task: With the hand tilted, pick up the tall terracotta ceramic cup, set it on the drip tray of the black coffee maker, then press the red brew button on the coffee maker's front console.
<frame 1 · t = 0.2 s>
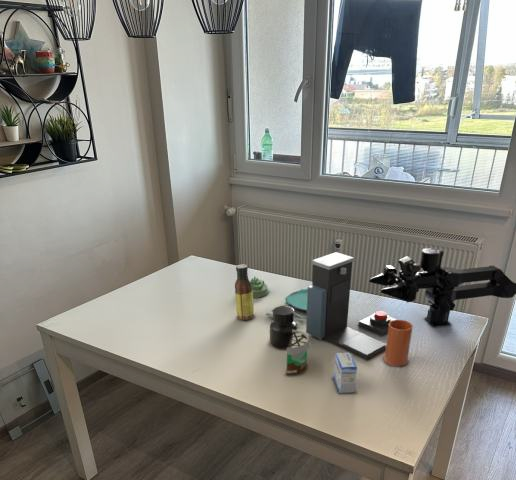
hand: (375, 285, 161), 17 cm above the table, tool horizontal, fingers open, 9 cm apart
ink bottle: (283, 343, 162), on the table
brew button: (380, 315, 169), point 4 cm above the table, slide at 0.2 cm
sauce bottle: (245, 317, 179), on the table
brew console: (379, 325, 171), on the table
coffee maker: (364, 347, 158), on the table
decorative artifact: (255, 293, 199), on the table
food container: (299, 368, 149), on the table
cutlery set: (303, 308, 185), on the table
medicine box: (343, 385, 140), on the table
cup: (395, 360, 151), on the table
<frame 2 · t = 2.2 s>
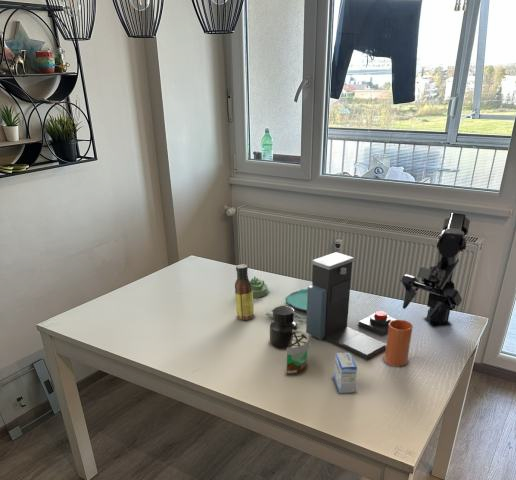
hand: (416, 313, 149), 14 cm above the table, tool tilted 45°, fingers open, 9 cm apart
nothing on the table moved.
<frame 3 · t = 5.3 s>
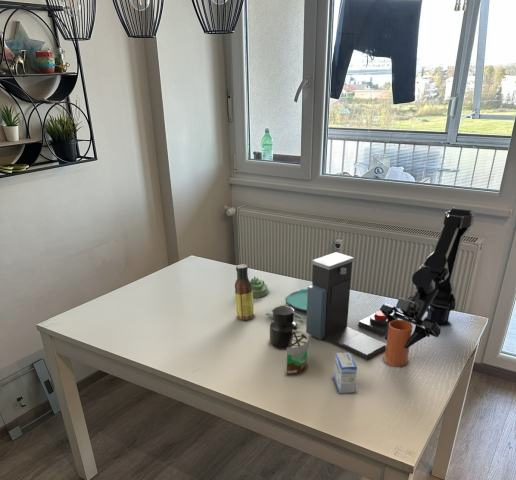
hand: (395, 343, 147), 7 cm above the table, tool tilted 45°, fingers closed on cup, 7 cm apart
cup: (395, 360, 151), on the table, touching gripper
everything else where it was.
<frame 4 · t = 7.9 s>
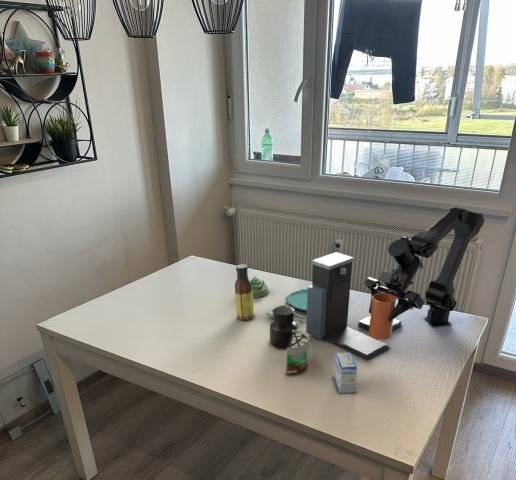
hand: (379, 316, 148), 13 cm above the table, tool tilted 45°, fingers closed on cup, 7 cm apart
cup: (379, 334, 152), point 7 cm above the table, touching gripper
everything else where it was.
when the fingers open (8 cm above the table, at t = 10.6 s): cup stays where it is, resting on coffee maker.
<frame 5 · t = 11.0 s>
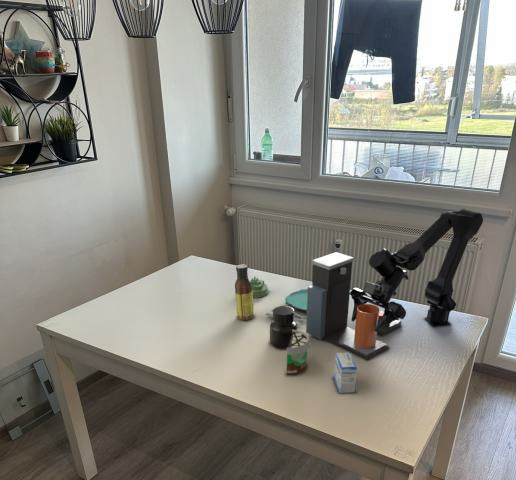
hand: (363, 325, 153), 8 cm above the table, tool tilted 45°, fingers open, 9 cm apart
cup: (364, 343, 158), point 1 cm above the table, touching coffee maker
everything else where it was.
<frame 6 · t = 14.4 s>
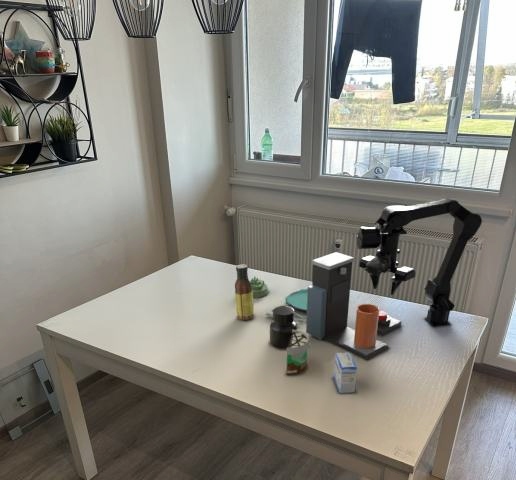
hand: (383, 291, 165), 13 cm above the table, tool pointing down, fingers open, 7 cm apart
nothing on the table moved.
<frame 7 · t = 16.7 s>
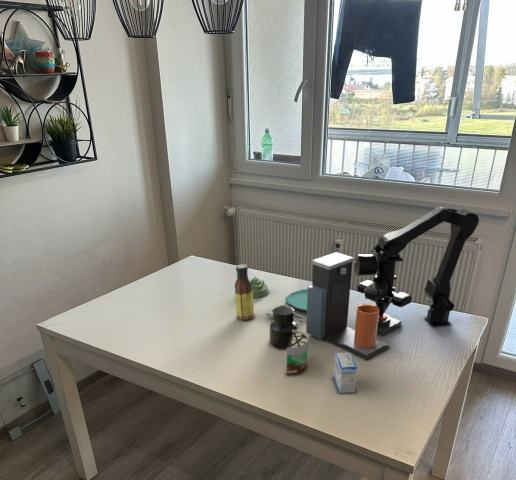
hand: (380, 315, 169), 4 cm above the table, tool pointing down, fingers closed, pressing on brew button
brew button: (380, 317, 170), point 3 cm above the table, slide at -0.7 cm, touching gripper
everything else where it was.
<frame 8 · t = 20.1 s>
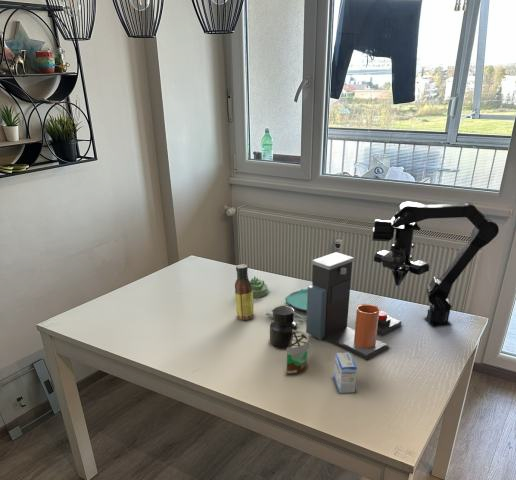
hand: (397, 285, 170), 13 cm above the table, tool pointing down, fingers closed
brew button: (380, 315, 169), point 4 cm above the table, slide at 0.2 cm
everything else where it was.
at the end: cup 0.0 cm off-centre on the coffee maker, point 1.5 cm above the coffee maker's base; cup tilted 0°; brew button pushed in 0.9 cm at the most during the clip, back to 0.2 cm at the end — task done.
